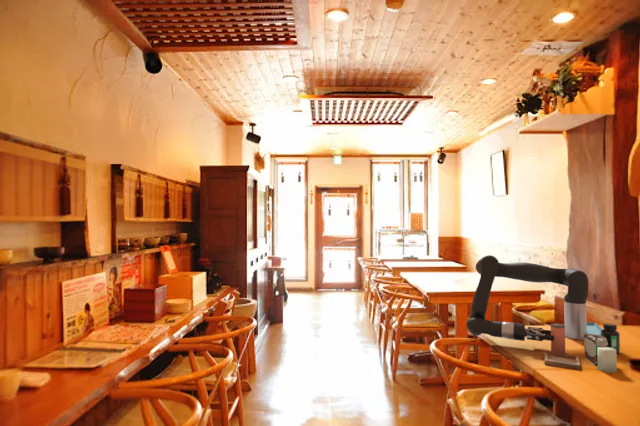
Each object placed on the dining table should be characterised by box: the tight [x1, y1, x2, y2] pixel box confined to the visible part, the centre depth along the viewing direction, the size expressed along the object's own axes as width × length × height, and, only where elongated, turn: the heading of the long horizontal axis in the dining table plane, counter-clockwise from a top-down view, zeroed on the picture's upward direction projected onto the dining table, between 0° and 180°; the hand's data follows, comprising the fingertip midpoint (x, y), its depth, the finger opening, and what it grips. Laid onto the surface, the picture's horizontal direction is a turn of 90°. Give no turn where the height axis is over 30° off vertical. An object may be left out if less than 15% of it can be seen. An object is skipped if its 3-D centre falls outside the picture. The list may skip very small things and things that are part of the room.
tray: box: [544, 351, 581, 371], centre depth 165 cm, size 12×12×2 cm
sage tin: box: [597, 347, 618, 374], centre depth 157 cm, size 6×6×8 cm
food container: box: [583, 333, 608, 367], centre depth 166 cm, size 12×6×10 cm, turn 168°
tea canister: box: [550, 322, 566, 355], centre depth 178 cm, size 6×6×12 cm
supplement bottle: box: [601, 322, 621, 355], centre depth 179 cm, size 7×7×12 cm
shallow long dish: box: [586, 321, 604, 336], centre depth 212 cm, size 26×9×2 cm, turn 159°
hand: (553, 335), depth 179 cm, fingers open, 8 cm apart
